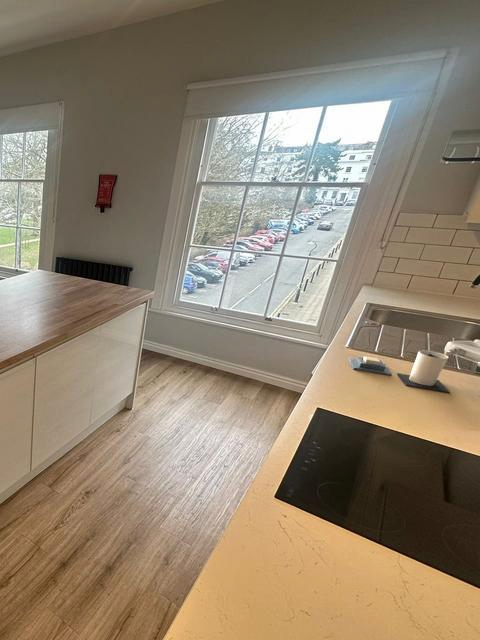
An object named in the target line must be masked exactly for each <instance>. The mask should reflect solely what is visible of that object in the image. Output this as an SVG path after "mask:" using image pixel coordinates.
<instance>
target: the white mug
mask: <svg viewBox="0 0 480 640" xmlns="http://www.w3.org/2000/svg"><path fill="white" fill-rule="evenodd" d="M448 359H449V355H446V354H444V353H441V352H438V351H434V350H426V349H425V350H423V349H422V350H419V351H418V352H417V355H416V358H415V361H414V363H413V365H412V369H411V372H410V374H409V375H410V377H409V379H410V380H411V381H413V382H415V383H418V384H422V385H430V386H431V385H434V383H435V382H436V380H438V379H439V376H440V374H441V372H442V370H443V369H444V367H445V366H446V364H447V362H448Z"/></svg>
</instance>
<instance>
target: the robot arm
mask: <svg viewBox="0 0 480 640" xmlns="http://www.w3.org/2000/svg"><path fill="white" fill-rule="evenodd" d="M443 354H444V355H447V356H448V357H449V356H452V357H454V356H456V357H458V358H462V359H464V360H466V361H469V362H473V363H476V366H477V367H478V368H479V367H480V339H474V340H452V341H448V342H447V344H446V345H445V347H444V353H443Z"/></svg>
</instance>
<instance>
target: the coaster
mask: <svg viewBox="0 0 480 640" xmlns="http://www.w3.org/2000/svg"><path fill="white" fill-rule="evenodd" d="M396 375H397V376H398V378H399V380H400V381H401V382H402V383H403V385H404V386H405V387H409V388H414V389H415V388H416V389H421V390H425V391H426V390H427V391H432V392H437V393H442V394H447V395H449V394H451V392H450V391H449V390H448V388H447V387H446V386H445V385H444V384H443V383H442V382H441V381H440V380H439V379H437V380H436V382H435V383H434V385H431V386H430V385H422V384H418V383H415V382H413V381H411V380H410V379H409V377H410V375H411V374H405V373H400V372H399V373H398V372H397V373H396Z"/></svg>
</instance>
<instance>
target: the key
mask: <svg viewBox="0 0 480 640" xmlns="http://www.w3.org/2000/svg"><path fill="white" fill-rule="evenodd" d="M362 358H363V361H364V362H365V363H370V364H376V365H379V363H380V361H381V360H380V359H379V358H378V357H373V356H366V355H364V356H363V357H362ZM379 360H380V361H379Z"/></svg>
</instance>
